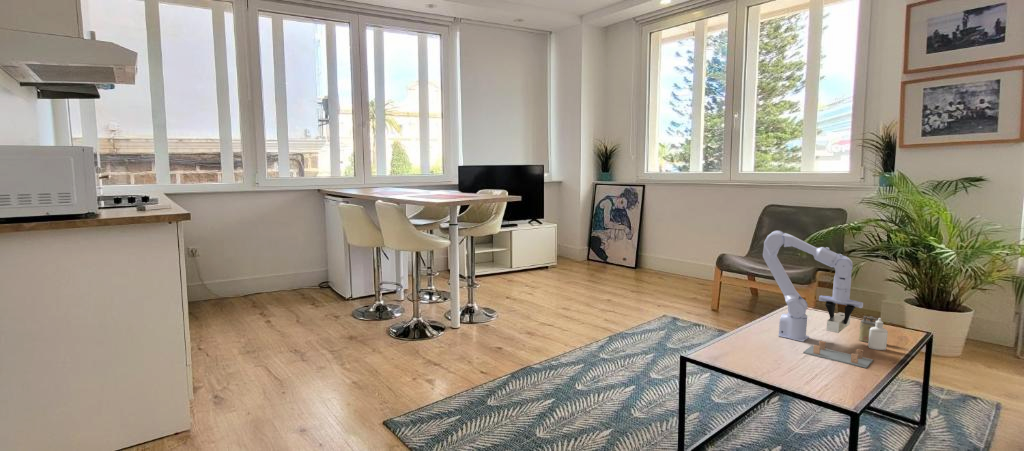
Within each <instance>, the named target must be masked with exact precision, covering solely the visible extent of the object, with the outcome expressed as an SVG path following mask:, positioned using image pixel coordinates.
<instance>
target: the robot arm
mask: <svg viewBox="0 0 1024 451" xmlns="http://www.w3.org/2000/svg"><path fill="white" fill-rule="evenodd" d="M782 246H783V247H784V248H787V247H789V248H790V247H793V248H795V249H798V250H799V251H802V252H805V253H807V254H810V255H812V256H813V259H814V260H815V261H817V262H819V263H821V264H823V265H826V266H828V267H830V268H834V272H835V273H834V276H833V283H832V284H833V287H832V296H830V295H819V296H818V301H819V302H825V304H824V306H825V308H826V309H827V312H828V316H829V319H830V318H832V317H833V316H834V315H835V309H836V305H844V313H845V318H844V324H847V322H848V319H849V317H850V318H851V316H850V315H852V313H853V312H854V310H855V308H859V309H863V308H864V302H862V301H858V300H854V299H850V297H851V289H852V288H851V286H852V274H853V273H852V270H853V268H854V267H853V263H854V262H853V261H852V259H851V258H849V257H848V256H846V255H843V254H841V253H836V252H835V251H833V250H830V247H828V246H826V247H824V246H820V247H816V246H814V245H812V244H810V243H808V242H806V241H804V240H802V239H800V238H798V237H796V236H795V235H792V234H789V233H787V232H783V231H782V230H773V231H771V233H769V234H767V236H766V238H765V240H764V241H763V249H762V250H763V251H762V258H763V260H764V262H765V264H766V265H767V267H768V269H769V271H770V273H771V275H772V276H773V278H774V280H775V281H776V284H777V285H778V287H779V290H781V293H782V294H783V297H784V300H785V304H786V305H787V313H782V314H781V315H780V318H779V323H778V324H779V326H778V327H779V328H778V335H777V337H780V338H784V339H788V340H789V339H790V340H794V341H798V342H805V341H806V340H807V339H809V338H810V336H809V335H807V327H808V326H807V325H808V315H807V314H806V312H807V309H808V307H809V305H808V302H807V300H805V299H804V298H803V297H802V296H801V294H800V293H799V292H798V291H797V289H796V288H795V286H794V284H793V283H792V281H791V278H790V277H789V275H788V274H787V272H786V270H785V268H784V266H783V264H782V263H781V261H780V259H779V257H778V253H779V251H780V249H781V247H782Z"/></svg>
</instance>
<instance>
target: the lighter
mask: <svg viewBox="0 0 1024 451" xmlns="http://www.w3.org/2000/svg"><path fill="white" fill-rule="evenodd" d="M867 319H869V320H867ZM878 319H879V317H878V318H877V317H874V316H867V315H863V319H860V324H859V333H858V340H859V341H861V342H865V343H868V341H869V331H870V328H871V327H875V323H876V321H878Z"/></svg>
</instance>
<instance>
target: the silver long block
mask: <svg viewBox="0 0 1024 451" xmlns="http://www.w3.org/2000/svg"><path fill="white" fill-rule="evenodd" d="M851 315H852V314H851ZM851 315H850V317H849V319H848V322H847V324H844V318H845V312H840V311H839V312H837V313H836V314H834V316H833V317H832V318H830V317H829V319H827V321H826V328H825V329H826V332H832V333H836V334H839V333H841V332H842V331H843V330H844V329H846V328H847V327H848V326H849V325H851Z"/></svg>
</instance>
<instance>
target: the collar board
mask: <svg viewBox="0 0 1024 451" xmlns="http://www.w3.org/2000/svg"><path fill="white" fill-rule="evenodd" d="M826 342H827V341H823V340H819V342H818V345H817V344H814V345H810V346H809V347H807V348H806V349H805V350H804V351H803V352H802V353H803V354H804V355H809V356H813V357H818V358H821V359H825V360H830V361H834V362H838V363H842V364H846V365H851V366H854V367H857V368H858V367H859V368H862V369H867V368H868V367H869V366H870V365H871V364H872V363H873V362H874V359H872V358H868V357H864V350H863V349H860V348H856V349H855V353H853V352H852V353H847V352H841V351H838V350H833V349H829V348H826V346H827V345H826V344H827V343H826Z"/></svg>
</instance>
